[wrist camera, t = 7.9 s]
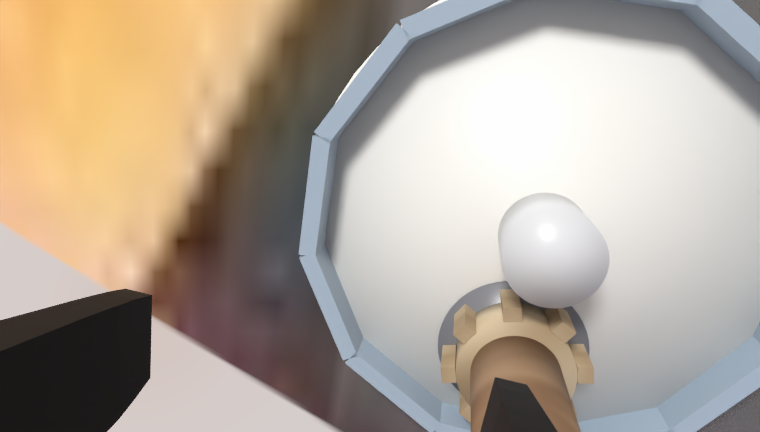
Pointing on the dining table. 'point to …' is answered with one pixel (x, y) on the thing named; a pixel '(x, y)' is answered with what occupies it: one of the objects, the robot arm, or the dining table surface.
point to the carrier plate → (580, 143)
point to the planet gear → (516, 358)
